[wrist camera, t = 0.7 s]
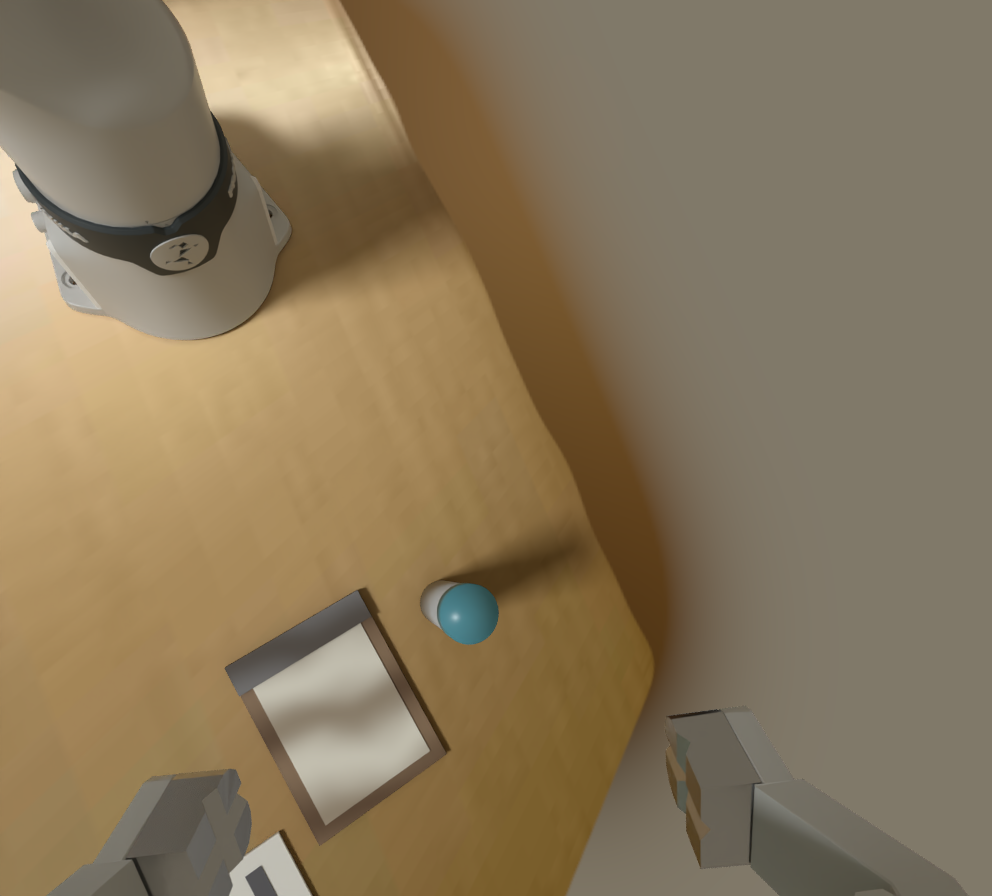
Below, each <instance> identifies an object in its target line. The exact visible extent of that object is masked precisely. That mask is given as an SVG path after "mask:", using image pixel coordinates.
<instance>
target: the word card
mask: <svg viewBox="0 0 992 896" xmlns="http://www.w3.org/2000/svg"><path fill="white" fill-rule="evenodd" d="M229 874H230V877H231V881H232V884H233V887H232V889H231V892H230V894H229V896H313V895H312V893H311V891H310V890H309V888H308V886H307V884H306V882H305V880H304V878H303V876H302V874H301V872H300V871H299V869H298V867H297V865H296V863H295V861H294V859H293V857H292V855H291V853H290V852H289V850H288V848H287V846H286V844H285V842H284V840H283V838H282V836H281V834H280V833H279V831H278V832H277V833H275V834H274V835H273V836H271V837H270V838H268V839H267V840H265V841H264V842H263V843H261V844H260V845H258V846H257V847H255V848H254V849H253V850H251V851H250V852H248V853H247V854H245V855H244V858H243V860H242V861H241V862H240V863H239V864H238V865H237V866H236V867H235V868H234V869H233V870H232V871H231V872H230V873H229Z"/></svg>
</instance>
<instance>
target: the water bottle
mask: <svg viewBox="0 0 992 896" xmlns="http://www.w3.org/2000/svg"><path fill="white" fill-rule="evenodd" d="M420 607H421V611H422V613H423V615H424V616H425V617H426V618H427V619H428V620H429V621H431V622H432V623H433V624H435V625H436V626H438V627H439V628H441V629H442V630H443V631H444V632H445V633H446V634H447V635H448V636H449V637H451V638H452V639H454V640H455V641H457V642H459V643H462V644H476V643H479V642H482V641H483V640H485V639H486V638H488V637H489V636H490V635H491V633H492V632H493V631H494V629H495V627H496V625H497V621H498V614H499V612H498V605H497V602H496V600H495V598H494V596H493V595H492V594H491V592H489V591H488V590H487V589H486V588H484V587H482V586H480V585H476V584H470V583H456V582H450V581H444V580H439V581H435V582H433V583H431V584H429V585H428V586H427V587H426V588H425V589H424V591H423V593H422V595H421V599H420Z"/></svg>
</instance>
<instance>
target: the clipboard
mask: <svg viewBox="0 0 992 896" xmlns="http://www.w3.org/2000/svg"><path fill="white" fill-rule="evenodd" d="M225 670H226V672H227V674H228V676H229V678H230V680H231V682H232V683H233V685H234V687H235V689H236V691H237V693H238V695H239V696H241V698H242V700H243V702H244V704H245V706H246V708H247V710H248V711H249V713H250V715H251V717H252V719H253V721H254V723H255V725H256V727H257V728H258V730H259V732H260V734H261V736H262V738H263V740H264V742H265V744H266V745H267V747H268V749H269V751H270V753H271V755H272V757H273V759H274V761H275V762H276V764H277V766H278V768H279V770H280V772H281V774H282V776H283V778H284V780H285V781H286V783H287V785H288V787H289V789H290V791H291V793H292V795H293V797H294V798H295V800H296V802H297V804H298V806H299V808H300V810H301V812H302V814H303V815H304V817H305V819H306V821H307V823H308V825H309V827H310V829H311V831H312V832H313V834H314V836H315V838H316V840H317V842H318V844H319V846H320V845H322V844H323V843H324V842H326V841H327V840H329V839H330V838H331V837H333V836H334V835H335V834H337V833H338V832H340V831H341V830H342V829H344V828H345V827H347V826H348V825H349V824H351V823H352V822H353V821H355V820H356V819H358V818H359V817H360V816H362V815H363V814H364V813H366V812H367V811H369V810H370V809H371V808H373V807H374V806H376V805H377V804H378V803H380V802H381V801H382V800H384V799H385V798H387V797H388V796H389V795H391V794H392V793H393V792H395V791H396V790H398V789H399V788H400V787H402V786H403V785H405V784H406V783H407V782H409V781H410V780H411V779H413V778H414V777H416V776H417V775H418V774H420V773H421V772H422V771H424V770H425V769H427V768H428V767H429V766H431V765H432V764H434V763H435V762H436V761H438V760H439V759H440V758H442V757H443V756H445V755H446V752H445V750H444V748H443V746H442V745H441V743H440V741H439V739H438V737H437V735H436V734H435V732H434V730H433V728H432V726H431V724H430V723H429V721H428V719H427V717H426V715H425V713H424V712H423V710H422V708H421V706H420V704H419V702H418V701H417V699H416V697H415V695H414V693H413V691H412V690H411V688H410V686H409V684H408V682H407V680H406V679H405V677H404V675H403V673H402V671H401V669H400V668H399V666H398V664H397V662H396V660H395V658H394V657H393V655H392V653H391V651H390V649H389V647H388V646H387V644H386V642H385V640H384V638H383V636H382V635H381V633H380V631H379V629H378V627H377V625H376V624H375V622H374V620H373V618H372V616H371V614H370V612H369V611H368V609H367V607H366V605H365V603H364V601H363V600H362V598H361V596H360V594H359V592H358V590H356V591H354V592H353V593H351V594H349V595H348V596H346V597H344V598H342V599H341V600H339V601H337V602H336V603H334V604H332V605H331V606H329V607H327V608H325V609H324V610H322V611H320V612H319V613H317V614H315V615H313V616H312V617H310V618H308V619H307V620H305V621H303V622H301V623H300V624H298V625H296V626H295V627H293V628H291V629H290V630H288V631H286V632H284V633H283V634H281V635H279V636H278V637H276V638H274V639H272V640H271V641H269V642H267V643H266V644H264V645H262V646H261V647H259V648H257V649H255V650H254V651H252V652H250V653H249V654H247V655H245V656H243V657H242V658H240V659H238V660H237V661H235V662H233V663H231V664H230V665H228V666H226V667H225Z"/></svg>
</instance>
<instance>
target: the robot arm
mask: <svg viewBox="0 0 992 896" xmlns="http://www.w3.org/2000/svg"><path fill="white" fill-rule="evenodd" d="M0 147H1V148H2V149H3V150H4V151H5V152H6V153H7V155H8V156H9V157H10V158H11V159H12V160H13V161H14V162H15V166H16V168H17V169H15V171H13V177H14V180H15V182H16V185H17V187H18V189H19V191H20V192H21V194H22V195H23V197H24V198H25V200H26V201H27V202H29V203H30V202H31V203H37V206H38V209H39V211H36V212H32V213H31V217H32V220H33V222H34V224H35V226H36V228H37V229H38V230H39V231H40V232H42V233H43V232H45V236H46V240H47V242H46V245H47V247H48V249H49V251H50V255H51V259H52V263H53V267H54V270H55V274H56V278H57V282H58V286H59V290H60V293H61V296H62V298H63V300H64V301H65V302H66V304H67V305H68V306H69V307H70V308H71V309H73V310H76V311H78V312H82V313H87V314H93V315H101V316H109V317H112V318H115V319H117V320H119V321H121V322H123V323H125V324H127V325H129V326H131V327H132V328H134V329H137V330H139V331H141V332H144V333H146V334H149V335H153V336H156V337H160V338H166V339H174V340H194V339H202V338H208V337H212V336H215V335H219V334H221V333H224V332H226V331H229V330H231V329H233V328H235V327H236V326H238V325H240V324H241V323H243V322H244V321H245V320H247V319H248V318H249V317H250V316H251V315H253V314H254V313H255V312H256V310H257V309H258V308H259V307H260V306H261V304H262V303H263V301H264V300H265V298H266V297H267V295H268V293H269V290H270V288H271V285H272V282H273V278H274V271H275V264H276V260H277V256H278V254H279V253H280V251H281V250H282V249H283V247H284V246H285V244H286V243H287V241H288V240H289V238H290V236H291V232H292V228H291V225H290V222H289V220H288V218H287V217H286V215H285V214H284V213H283V212H282V211H281V209H280V208H279V207H278V206H277V205H276V203H275V202H274V201H273V200H272V199H271V197H270V196H269V195H268V194H267V193H266V192H265V190H264V189H263V188H262V187H261V186H260V184H259V182H258V180H257V178H256V177H255V176H252V175H251V174H250V173H249V171H248V170H247V169H246V168H245V167H244V165H243V164H242V163H241V162H240V161H239V160H238V158H237V157H236V156H235V155H234V154H233V152H232V151H231V149H230V146H229V143H228V141H227V139H226V137H224V134H223V131H222V129H221V127H220V125H219V123H218V121H217V119H216V118H215V117H214V115H213V114H212V112H211V111H210V109H209V106H208V103H207V99H206V96H205V93H204V89H203V86H202V83H201V79H200V76H199V73H198V69H197V66H196V63H195V59H194V56H193V53H192V49H191V46H190V43H189V41H188V39H187V36H186V34H185V32H184V30H183V29H182V27H181V25H180V24H179V22H178V20H177V19H176V17H175V16H174V15H173V13H172V12H171V11H170V9H169V8H168V7H167V5H166V4H165V3H164V2H163V1H162V0H0ZM270 215H272V217H271V218H270ZM73 281H75V282H76V284H77V285H73ZM665 733H666V736H667V738H668V741H669V743H670V746H669V747H668V748H667V750H666V766H667V772H668V778H669V783H670V786H671V789H672V793H673V796H674V799H675V802H676V804H677V807H678V808H679V809H680V810H681V811H683V812H684V813H685V814H686V831H687V834H688V837H689V839H690V842H691V845H692V847H693V850H694V852H695V855H696V857H697V860H698V863H699V865H700V868H701V869H705V868H717V867H728V866H739V865H751V868H752V869H753V870H754V871H755V872H756V873H757V874H758V875H759V876H760V877H761V878H762V879H763V880H764V881H765V882H766V883H767V884H768V885H769V886H770V887H771V888H772V889H773V890H774V891H775V892H777V894H778V895H779V896H968V895H967V893H966V892H965V891H964V889H963V888H962V887H961V886H960V884H959V883H958V882H957V880H956V879H955V878H953V877H952V876H951V875H949V874H948V873H946V872H945V871H943V870H941V869H940V868H938V867H937V866H935V865H934V864H932V863H931V862H929V861H928V860H926V859H925V858H923V857H922V856H920V855H919V854H917V853H915V852H914V851H912V850H911V849H909V848H908V847H906V846H905V845H903V844H901V843H900V842H898V841H897V840H896V839H894V838H893V837H891V836H889V835H888V834H886V833H885V832H883V831H882V830H880V829H879V828H877V827H876V826H874V825H872V824H871V823H870V822H868V821H867V820H865V819H863V818H862V817H860V816H859V815H857V814H856V813H854V812H853V811H851V810H850V809H848V808H846V807H845V806H843V805H842V804H841V803H839V802H837V801H836V800H834V799H833V798H831V797H830V796H828V795H827V794H825V793H824V792H822V791H821V790H819V789H817V788H816V787H815V786H813V785H811V784H810V783H808V782H807V781H805V780H804V779H797V780H794V778H793V776H792V775H791V773H790V772H789V770H788V769H787V767H786V765H785V764H784V762H783V760H782V759H781V757H780V756H779V754H778V752H777V751H776V749H775V747H774V746H773V744H772V743H771V741H770V739H769V738H768V736H767V735H766V733H765V731H764V730H763V728H762V727H761V725H760V723H759V722H758V720H757V719H756V717H755V715H754V714H753V712H752V711H751V709H749V708H748V707H747V706H739V707H732V708H724V709H719V710H717V709H716V710H708V711H700V712H693V713H686V714H677V715H670V716H666V720H665ZM240 785H241V781H240V779H239V776H238V774H237V771H236V770H234V769H222V770H211V771H200V772H189V773H179V774H173V775H163V776H152V777H151V778H150V779H148V780H147V781H146V782H144V783H143V785H142V786H141V788H140V789H139V791H138V793H137V794H136V796H135V797H134V799H133V801H132V802H131V804H130V805H129V807H128V808H127V810H126V812H125V813H124V815H123V816H122V818H121V819H120V821H119V823H118V824H117V826H116V827H115V829H114V831H113V832H112V834H111V835H110V837H109V838H108V840H107V842H106V843H105V845H104V846H103V848H102V850H101V851H100V853H99V854H98V856H97V857H96V859H95V861H94V862H93V864H88V865H83V866H82V867H81V868H80V869H78V870H77V871H76V872H75V873H74V874H72V875H71V876H70V877H69V878H67V879H66V880H65V881H64V882H62V883H61V884H60V885H59V886H58V887H56V888H55V889H54V890H53V891H51V892H50V893H49V894H48V895H46V896H229V894H230V892H231V889H232V887H233V884H232V881H231V877H230V874H229V873H230V872H231V871H232V870H233V869H234V868H235V867H236V866H237V865H238V864H239V863H240V862H241V861H242V860H243V858H244V855H245V852H246V849H247V847H248V844H249V839H250V832H251V825H252V822H251V811H250V808H249V805H248V801H247V800H245V799H244V798H243V797H241V796H240V795H238V794H237V791H238V789H239V787H240Z"/></svg>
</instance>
